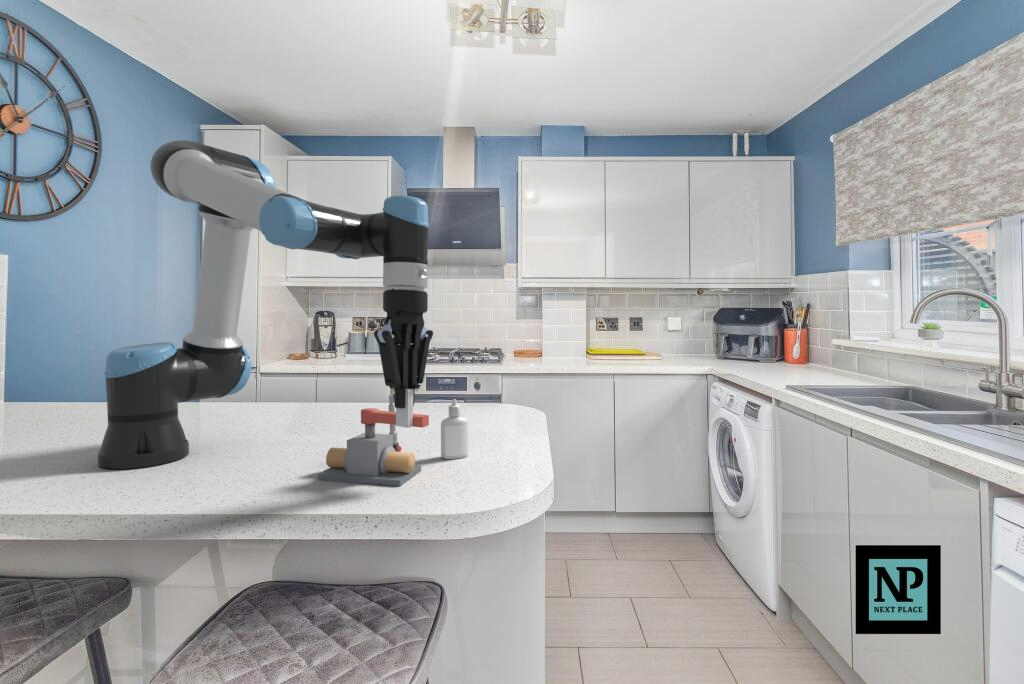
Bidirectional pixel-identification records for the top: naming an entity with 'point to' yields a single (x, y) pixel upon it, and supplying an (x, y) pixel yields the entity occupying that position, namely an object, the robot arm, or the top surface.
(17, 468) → the top surface
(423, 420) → the lever
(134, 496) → the top surface
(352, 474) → the valve base
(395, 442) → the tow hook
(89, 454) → the top surface
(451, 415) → the eye dropper bottle
